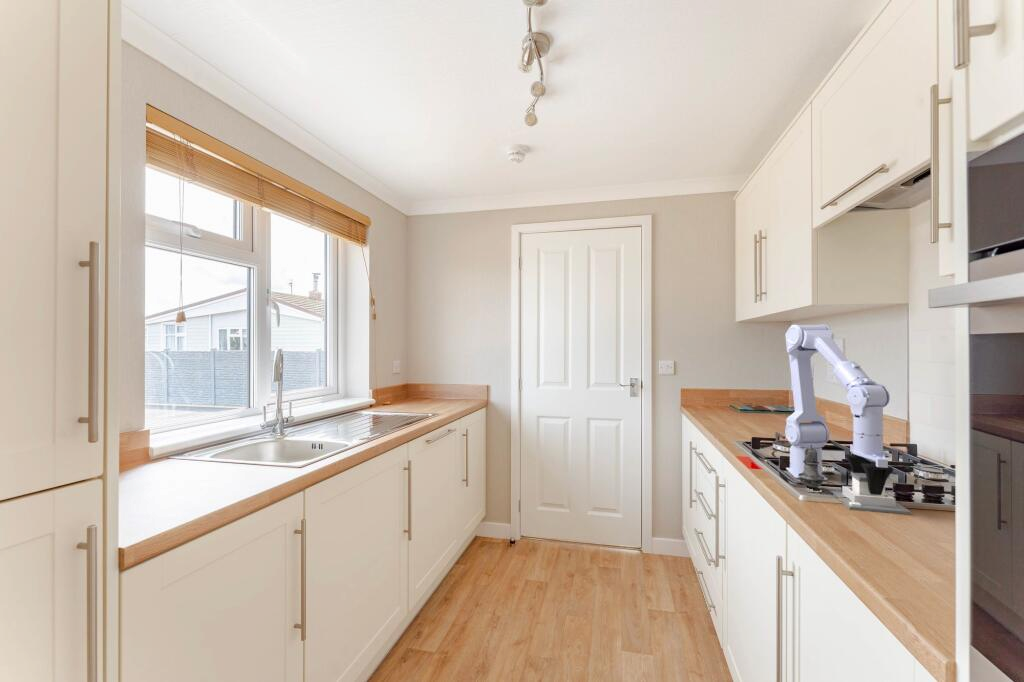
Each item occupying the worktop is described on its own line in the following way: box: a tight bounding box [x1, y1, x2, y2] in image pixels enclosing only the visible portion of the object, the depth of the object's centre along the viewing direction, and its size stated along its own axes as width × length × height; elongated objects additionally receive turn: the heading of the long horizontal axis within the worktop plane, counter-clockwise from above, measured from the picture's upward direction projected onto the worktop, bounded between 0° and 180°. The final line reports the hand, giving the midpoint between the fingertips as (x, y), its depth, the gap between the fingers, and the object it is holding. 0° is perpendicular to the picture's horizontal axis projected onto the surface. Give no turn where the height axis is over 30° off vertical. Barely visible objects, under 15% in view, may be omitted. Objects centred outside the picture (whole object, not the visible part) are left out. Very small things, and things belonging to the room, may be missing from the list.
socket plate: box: [829, 485, 912, 516], centre depth 111 cm, size 12×12×3 cm
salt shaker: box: [798, 445, 825, 491], centre depth 120 cm, size 6×6×12 cm
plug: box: [851, 472, 886, 497], centre depth 111 cm, size 4×5×6 cm
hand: (867, 488), depth 111 cm, fingers open, 7 cm apart
